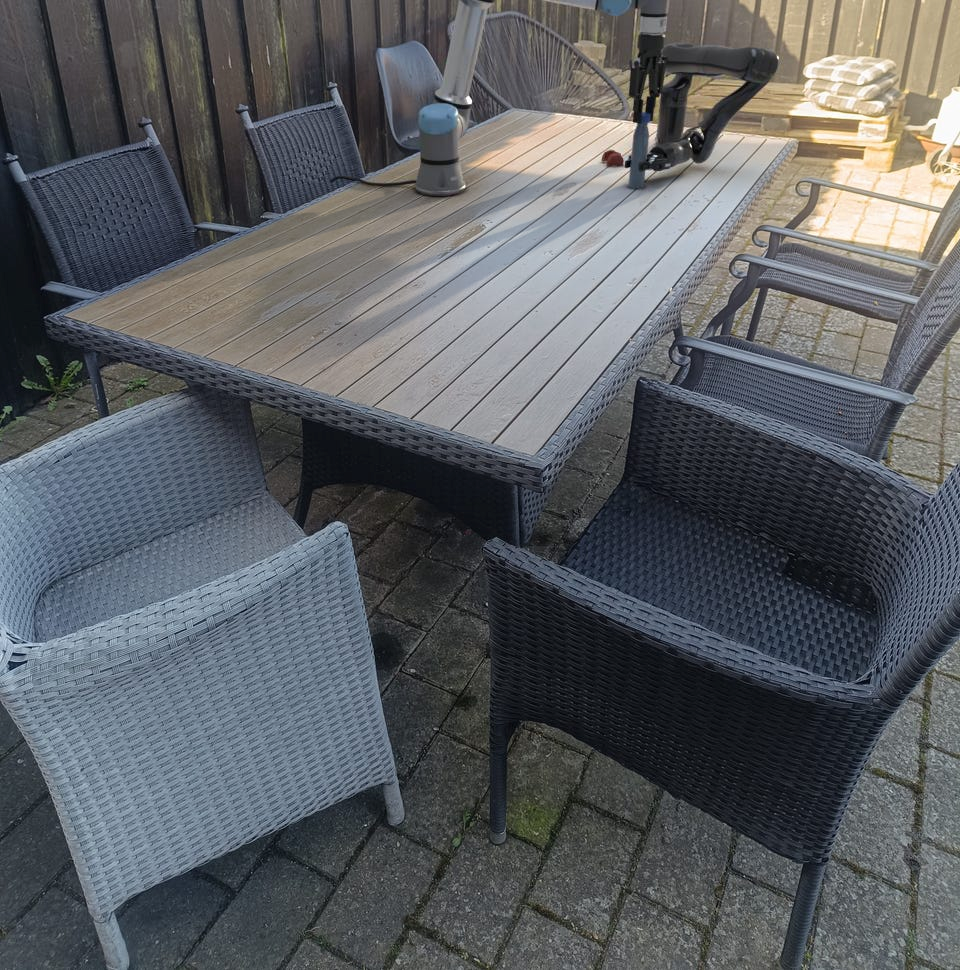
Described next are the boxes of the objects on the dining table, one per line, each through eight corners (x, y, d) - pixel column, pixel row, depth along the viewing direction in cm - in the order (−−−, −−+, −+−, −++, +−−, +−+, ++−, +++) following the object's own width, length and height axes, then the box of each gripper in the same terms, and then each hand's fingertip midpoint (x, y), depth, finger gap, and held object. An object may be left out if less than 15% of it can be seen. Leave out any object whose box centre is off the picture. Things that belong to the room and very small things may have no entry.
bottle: (624, 186, 262) (631, 115, 250) (636, 183, 264) (643, 113, 252) (635, 189, 258) (642, 118, 247) (646, 187, 261) (654, 116, 249)
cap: (643, 119, 252) (644, 111, 251) (652, 121, 249) (653, 114, 248) (632, 120, 251) (633, 113, 249) (641, 123, 248) (642, 116, 246)
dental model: (616, 146, 283) (625, 152, 277) (615, 159, 286) (624, 165, 280) (600, 148, 282) (609, 154, 276) (600, 161, 285) (608, 167, 279)
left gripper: (640, 37, 230) (631, 128, 243) (683, 32, 238) (672, 120, 252) (620, 34, 235) (612, 123, 248) (663, 29, 243) (653, 115, 257)
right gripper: (649, 139, 267) (615, 149, 258) (686, 147, 259) (653, 158, 249) (646, 163, 272) (613, 174, 262) (683, 172, 263) (650, 183, 254)
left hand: (642, 121), depth 250 cm, fingers closed on cap, 4 cm apart
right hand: (632, 166), depth 256 cm, fingers closed on bottle, 4 cm apart
